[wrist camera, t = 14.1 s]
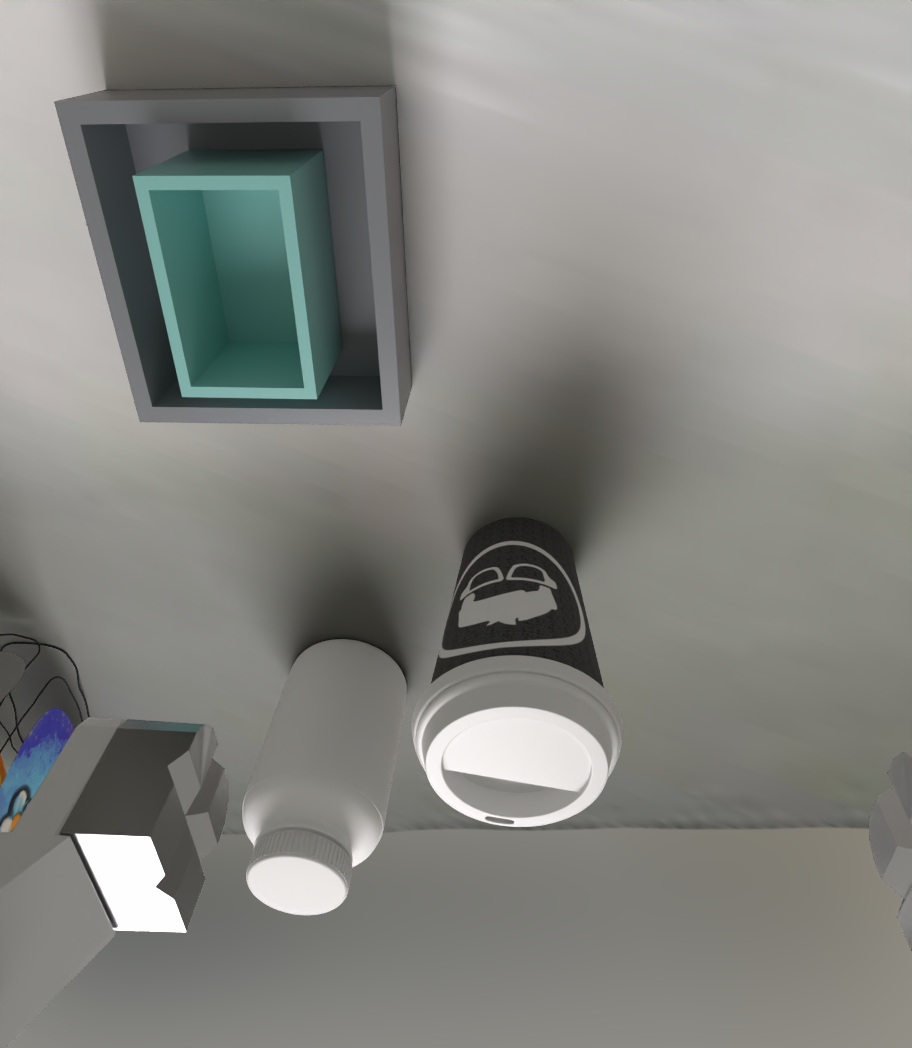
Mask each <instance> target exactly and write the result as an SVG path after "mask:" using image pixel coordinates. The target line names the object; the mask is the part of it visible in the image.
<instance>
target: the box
mask: <svg viewBox="0 0 912 1048" xmlns="http://www.w3.org/2000/svg"><path fill="white" fill-rule="evenodd" d="M3 635H15V636H19V637H23V638H26V639H30V640H33V641H35V642H36V643H24V642H15V643H9V644H6V645H5V646H7V645H10V644H36V645H38V647H39V651H38V654H37V655H36V656H35V657H34V658H33V659H32V660H31V661H30V663H29V664H28V665H27V666H26V667H25V661H24V660H23V659H22V658H21V657H19V656H17V655H15V654H13V653H9V652H2V649H3V648H4V647H5V646H3V647H2V648H1V650H0V702H1V703H0V706H1V704H2V702H3V701H4V699H5V697H6V696H7V694H8V693H9V696H10V699H11V701H12V704H13V707H14V711H15V720H16V727H15V729H14V730H13V732H12V733H11V735H9V733H8V731H7V730H6V728H5V727H4V726H3V724H2V723H1V722H0V724H1V725H2V727H3V728H4V729H5V731H6V732H7V734H8V736H9V738H8V739H7V741H6V742H5V744H4V746H3V747H2V749H1V750H0V753H1V751H2V750H3V748H4V747H5V745H6V744H7V742H8V741H9V739H10V742H11V746H12V748H13V749H14V750H15V751H16V749H15V748H14V747H13V745H12V741H11V736H12V734H13V733H14V731H15V730H16V728H17V732H18V735H19V737H20V739H21V741H22V743H23V745H22V747H21V748H20V750H19V752H17V751H16V753H17V756H16V758H15V760H14V762H13V763H12V765H11V767H10V769H9V771H8V773H6V769H5V766H4V763H3V760H2V757H1V754H0V832H12V830H13V829H14V827H15V826H16V824H17V822H18V821H19V819H20V817H21V816H22V814H23V813H24V811H25V809H26V808H27V806H28V804H29V803H30V801H31V800H32V798H33V796H34V795H35V793H36V791H37V790H38V788H39V787H40V785H41V783H42V782H43V780H44V778H45V777H46V775H47V774H48V772H49V770H50V769H51V767H52V765H53V764H54V762H55V761H56V759H57V757H58V756H59V754H60V752H61V751H62V749H63V748H64V746H65V744H66V743H67V741H68V739H69V738H70V736H71V735H72V733H73V731H74V730H75V728H74V726H73V724H72V723H71V721H70V719H69V718H68V716H67V714H66V713H65V712H64V711H62V710H61V709H57V708H54V709H50V710H48V711H47V712H46V713H45V714H44V715H43V716H42V717H41V718H40V719H39V720H38V722H37V723H36V724H35V726H34V727H33V729H32V730H31V732H30V733H29V735H28V736H27V738H26V740H25V741H24V742H23V740H22V738H21V736H20V734H19V730H18V725H19V724H20V722H21V721H22V719H23V718H24V716H25V715H26V714H27V713H28V711H29V710H30V709H31V708H32V706H33V705H34V703H35V702H36V700H37V699H38V697H39V696H40V694H41V693H42V692H43V690H44V689H45V688H46V686H47V685H48V684H49V683H50V681H51V680H53V679H54V678H61V679H62V680H63V681H64V682H65V683H66V685H67V687H68V689H69V691H70V693H71V695H72V697H73V699H74V701H75V703H76V705H77V707H78V710H79V713H80V717H81V721H82V722H83V719H82V716H81V712H80V709H79V706H78V703H77V701H76V699H75V698H74V696H73V694H72V692H71V690H70V688H69V686H68V684H67V682H66V681H65V679H63V678H62V677H54V678H52V679H50V680H49V682H48V683H47V684H46V685H45V687H44V688H43V690H42V691H41V692H40V693H39V695H38V696H37V698H36V699H35V701H34V702H33V704H32V705H31V707H30V708H29V709H28V710H27V712H26V713H25V714H24V715H23V717H22V718H21V719H20V721H19V722H18V724H17V716H16V709H15V705H14V703H13V700H12V697H11V695H10V691H11V690H12V689H13V688H14V686H15V685H16V684H17V683H18V682H19V680H20V679H21V677H22V676H23V673H24V671H25V669H26V668H27V667H28V666H29V665H30V664H31V663H32V661H33V660H34V659H35V658H36V657H37V656H38V655H39V653H40V645H44V646H49V647H53V648H56V649H58V650H61V651H62V652H64V653H65V654H66V655H67V657H68V658H69V659H70V660H71V662H72V663H73V665H74V667H75V669H76V673H77V680H78V687H79V690H80V692H81V694H82V696H83V699H84V701H85V705H86V709H87V714H88V717H89V712H88V707H87V703H86V700H85V697H84V695H83V693H82V691H81V689H80V685H79V677H78V671H77V667H76V665H75V664H74V662H73V661H72V659H71V658H70V657H69V656H68V654H67V653H66V652H65V651H63V650H62V649H60V648H57V647H54V646H50V645H46V644H39V643H38V642H37V641H36V640H34V639H32V638H28V637H24V636H21V635H17V634H0V636H3Z"/></svg>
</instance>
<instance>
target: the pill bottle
mask: <svg viewBox="0 0 912 1048" xmlns="http://www.w3.org/2000/svg"><path fill="white" fill-rule="evenodd" d="M406 698H407V686H406V681H405V677H404V675H403V673H402V671H401V669H400V667H399V666H398V665H397V663H396V662H395V661H394V660H393V659H392V658H391V657H390V656H389V655H387V654H386V653H385V652H383V651H382V650H380V649H378V648H376V647H374V646H372V645H370V644H367V643H364V642H360V641H356V640H349V639H334V640H327V641H323V642H320V643H317V644H315V645H313V646H311V647H309V648H308V649H306V650H305V651H304V652H303V653H302V654H301V655H300V656H299V657H298V658H297V659H296V661H295V662H294V664H293V666H292V668H291V670H290V672H289V675H288V678H287V680H286V683H285V686H284V689H283V691H282V694H281V697H280V700H279V702H278V705H277V708H276V711H275V714H274V716H273V719H272V722H271V725H270V727H269V730H268V733H267V736H266V739H265V741H264V744H263V747H262V750H261V752H260V755H259V758H258V761H257V763H256V766H255V769H254V772H253V775H252V777H251V780H250V783H249V786H248V788H247V791H246V794H245V797H244V801H243V807H242V818H243V825H244V828H245V831H246V834H247V836H248V837H249V839H250V841H251V842H252V843H253V845H254V850H253V853H252V856H251V859H250V862H249V865H248V868H247V873H246V878H247V883H248V886H249V888H250V890H251V891H252V893H253V894H254V895H255V896H256V897H257V898H258V899H259V900H260V901H262V902H264V903H265V904H266V905H268V906H270V907H272V908H274V909H277V910H280V911H283V912H286V913H291V914H297V915H314V914H315V915H316V914H322V913H325V912H328V911H330V910H333V909H335V908H336V907H338V906H339V905H340V904H341V903H342V902H343V901H344V899H345V898H346V896H347V894H348V890H349V885H350V880H351V875H352V867H354V866H356V865H358V864H359V863H360V862H362V861H364V860H365V859H366V858H367V857H368V856H369V855H370V854H371V853H372V851H373V850H374V849H375V847H376V846H377V844H378V842H379V840H380V838H381V836H382V833H383V829H384V824H385V818H386V813H387V807H388V801H389V796H390V790H391V784H392V779H393V773H394V767H395V762H396V756H397V750H398V745H399V739H400V734H401V728H402V722H403V717H404V711H405V705H406Z"/></svg>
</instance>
